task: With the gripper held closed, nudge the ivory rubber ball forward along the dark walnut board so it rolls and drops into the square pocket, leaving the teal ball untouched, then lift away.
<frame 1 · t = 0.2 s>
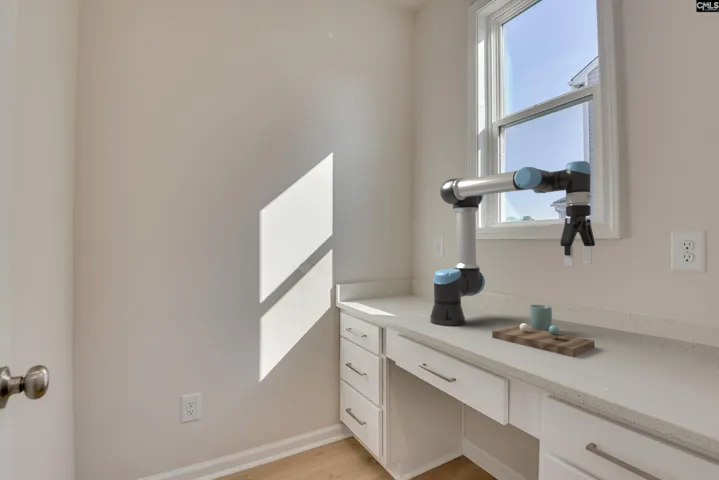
hand: (578, 264, 126), 28 cm above the table, fingers open, 13 cm apart
cup: (540, 331, 141), on the table
ball: (524, 327, 130), point 4 cm above the table, touching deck
teal ball: (553, 329, 126), point 4 cm above the table, touching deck
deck: (540, 342, 125), on the table
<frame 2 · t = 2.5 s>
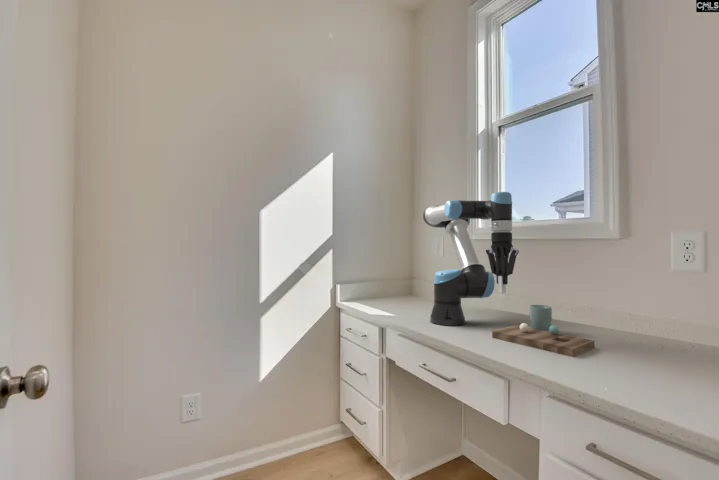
hand: (502, 292, 137), 16 cm above the table, fingers closed
nothing on the table moved.
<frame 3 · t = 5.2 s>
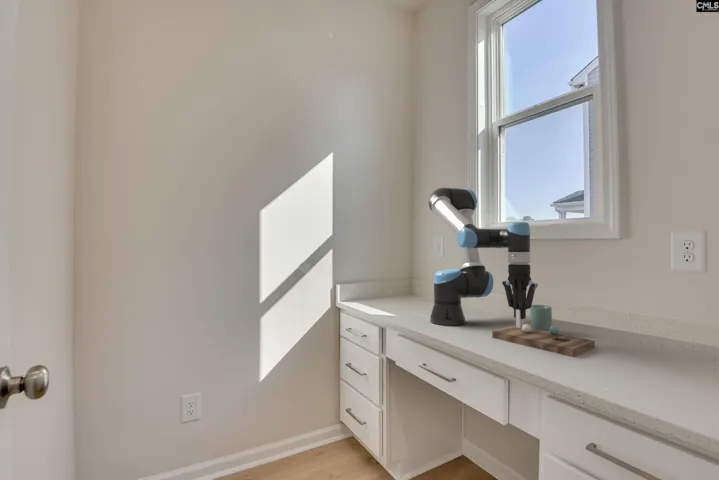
hand: (519, 327, 131), 4 cm above the table, fingers closed
ball: (526, 328, 129), point 4 cm above the table, tilted 27°, touching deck
everything else where it was.
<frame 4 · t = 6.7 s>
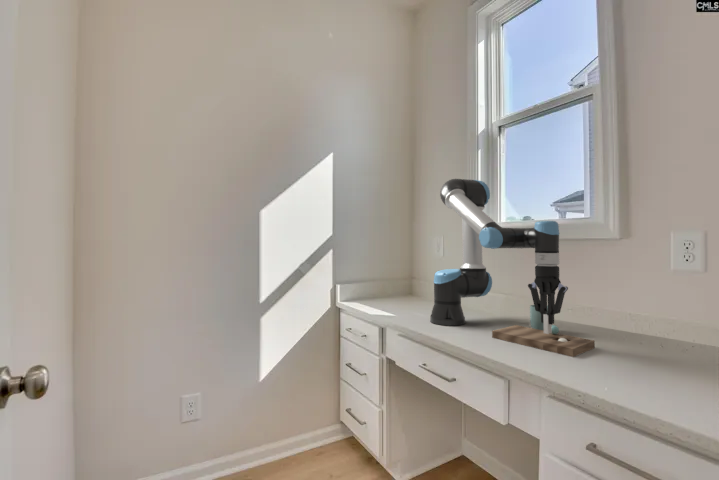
hand: (547, 332, 123), 4 cm above the table, fingers closed
ball: (562, 342, 119), point 2 cm above the table, tilted 171°
everything else where it was.
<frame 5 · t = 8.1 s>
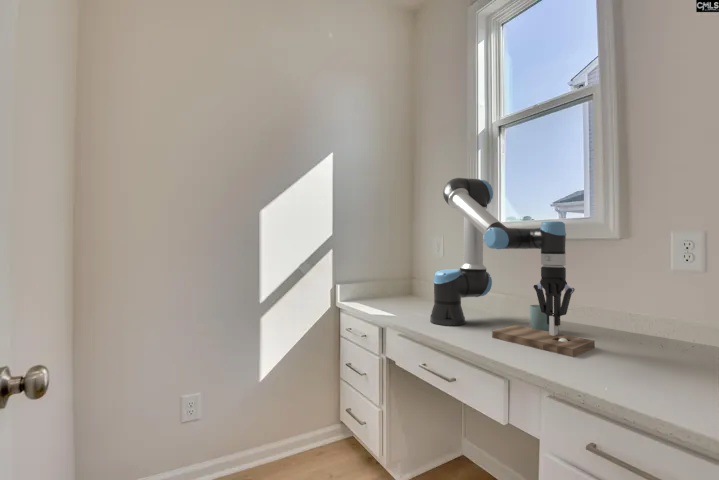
hand: (553, 334, 121), 4 cm above the table, fingers closed
nothing on the table moved.
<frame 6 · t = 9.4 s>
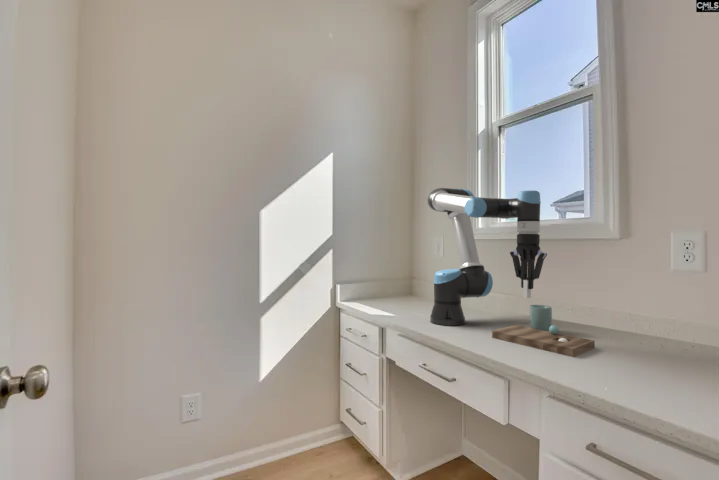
hand: (527, 297, 129), 15 cm above the table, fingers closed
nothing on the table moved.
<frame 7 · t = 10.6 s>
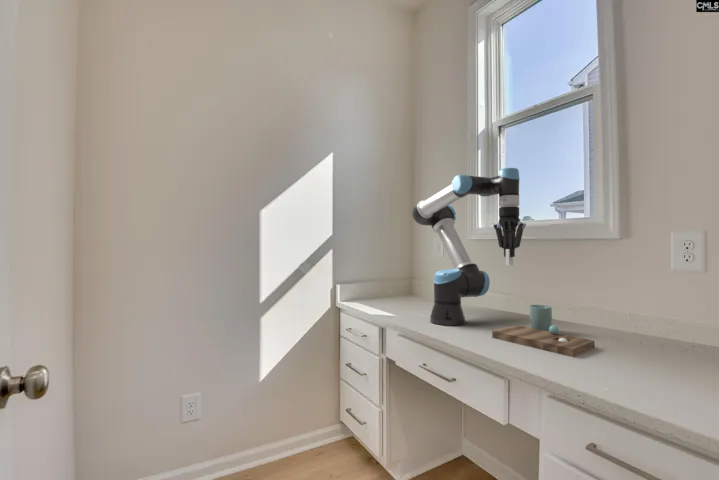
hand: (509, 265, 142), 26 cm above the table, fingers closed
nothing on the table moved.
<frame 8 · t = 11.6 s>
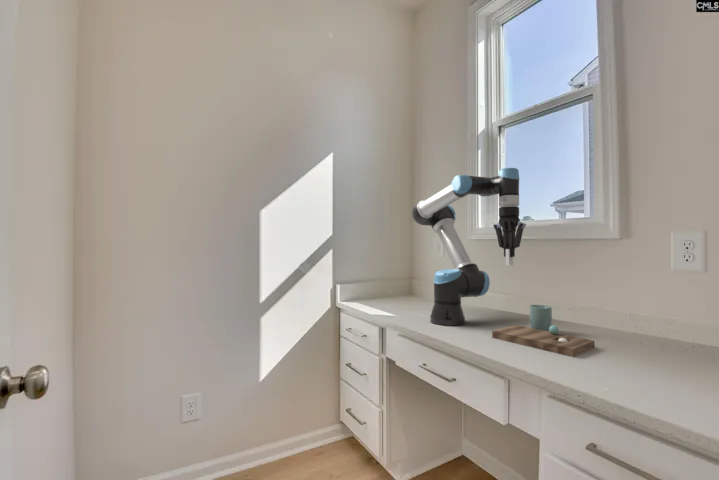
hand: (509, 265, 142), 26 cm above the table, fingers closed
nothing on the table moved.
at the end: ball 0.6 cm from the target spot on the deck, point 1.6 cm above the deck's base; teal ball moved 0.0 cm from its start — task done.
